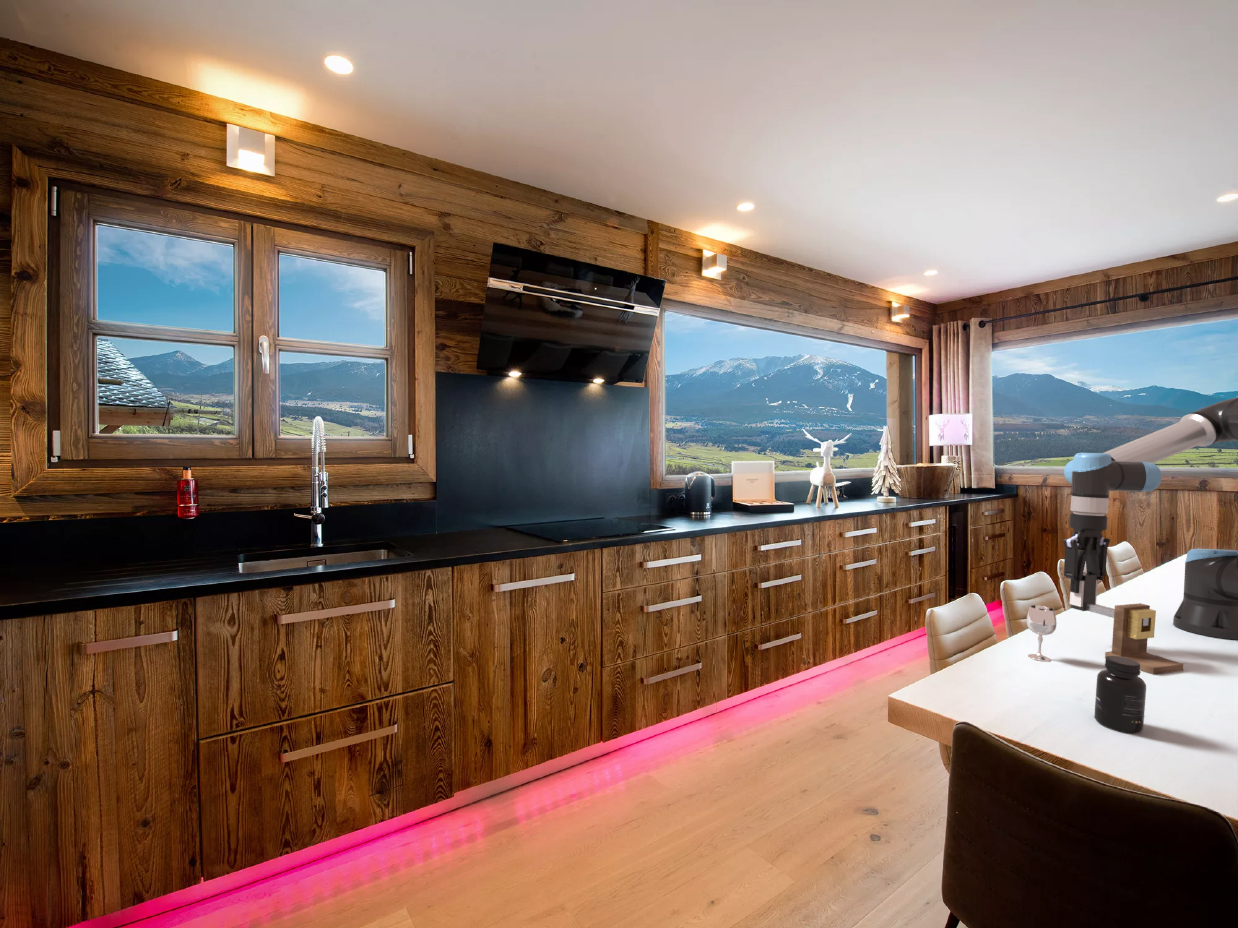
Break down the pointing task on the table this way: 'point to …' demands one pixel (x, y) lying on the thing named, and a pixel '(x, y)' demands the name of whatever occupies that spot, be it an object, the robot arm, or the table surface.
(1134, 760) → the table surface
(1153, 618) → the block
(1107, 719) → the supplement bottle
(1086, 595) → the grey hammer
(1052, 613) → the wineglass
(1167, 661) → the bearing frame
